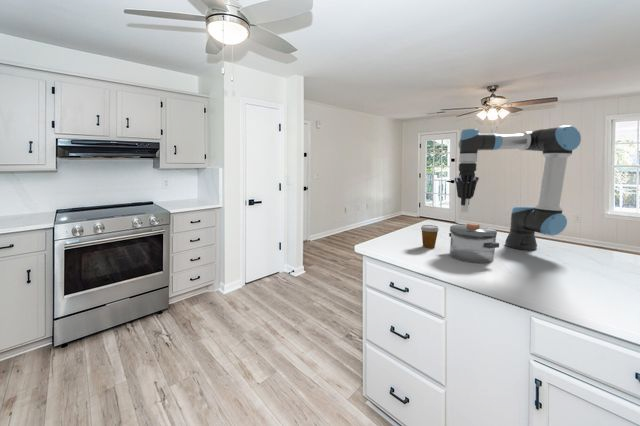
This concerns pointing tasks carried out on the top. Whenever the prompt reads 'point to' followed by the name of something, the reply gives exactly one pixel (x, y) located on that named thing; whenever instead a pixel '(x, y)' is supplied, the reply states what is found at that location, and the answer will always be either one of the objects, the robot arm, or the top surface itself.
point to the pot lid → (473, 231)
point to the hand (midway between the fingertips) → (464, 211)
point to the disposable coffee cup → (429, 236)
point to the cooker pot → (472, 248)
